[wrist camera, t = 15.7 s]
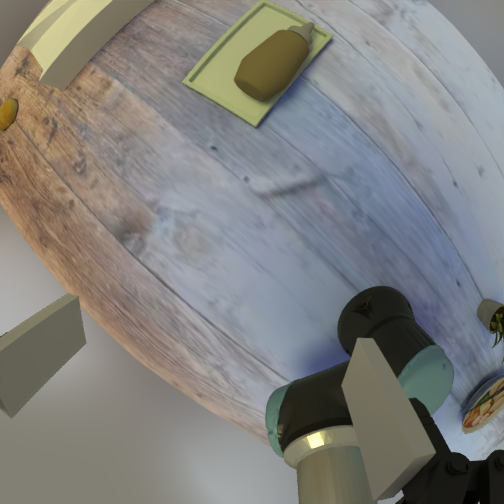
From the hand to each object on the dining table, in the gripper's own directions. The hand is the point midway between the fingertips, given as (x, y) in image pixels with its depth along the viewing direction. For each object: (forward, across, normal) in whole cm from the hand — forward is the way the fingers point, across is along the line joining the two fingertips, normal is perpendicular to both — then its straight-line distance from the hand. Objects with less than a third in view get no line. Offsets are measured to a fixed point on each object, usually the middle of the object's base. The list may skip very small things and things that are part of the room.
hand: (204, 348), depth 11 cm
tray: (+35, -2, +30) cm, 46 cm away
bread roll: (+35, -67, +25) cm, 80 cm away
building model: (+35, -37, +51) cm, 72 cm away
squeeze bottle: (+30, -3, +21) cm, 37 cm away
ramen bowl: (+35, +75, -40) cm, 92 cm away
